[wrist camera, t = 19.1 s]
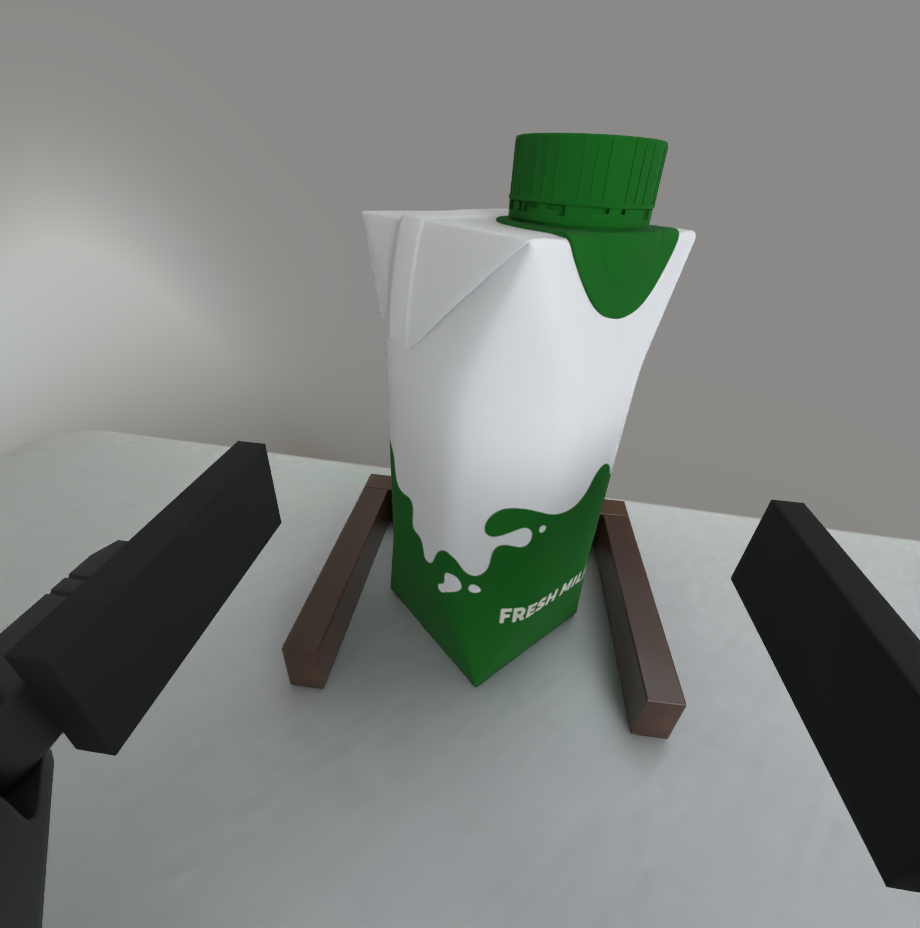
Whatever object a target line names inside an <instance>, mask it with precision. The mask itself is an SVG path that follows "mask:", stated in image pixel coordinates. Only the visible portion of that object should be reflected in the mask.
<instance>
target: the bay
mask: <svg viewBox="0 0 920 928" xmlns="http://www.w3.org/2000/svg"><path fill="white" fill-rule="evenodd" d="M389 521H393V507H392V481H391V476H387V475H378V474H371V475H370V477H369V479H368V481H367V483H366V485H365V488H364V489H363V491H362V493H361V495H360V497H359V499H358V501H357V503H356V505H355V507H354V509H353V511H352V513H351V515H350V517H349V518H348V520H347V522H346V524H345V526H344V528H343V530H342V532H341V534H340V536H339V538H338V540H337V542H336V544H335V546H334V548H333V550H332V552H331V554H330V556H329V557H328V559H327V561H326V563H325V565H324V567H323V569H322V571H321V573H320V575H319V577H318V579H317V581H316V583H315V585H314V587H313V589H312V591H311V593H310V594H309V596H308V598H307V600H306V602H305V604H304V606H303V608H302V610H301V612H300V614H299V616H298V618H297V620H296V622H295V624H294V626H293V628H292V630H291V632H290V633H289V635H288V637H287V639H286V641H285V643H284V645H283V647H282V652H283V656H284V660H285V664H286V668H287V672H288V676H289V680H290V684H293V685H300V686H307V687H313V688H320V689H323V688H324V686H325V683H326V681H327V678H328V676H329V673H330V671H331V668H332V665H333V663H334V660H335V658H336V655H337V653H338V650H339V648H340V645H341V643H342V640H343V637H344V635H345V632H346V630H347V627H348V625H349V622H350V620H351V617H352V614H353V612H354V609H355V607H356V604H357V602H358V599H359V597H360V594H361V591H362V589H363V586H364V584H365V581H366V579H367V576H368V574H369V571H370V568H371V566H372V563H373V561H374V558H375V556H376V553H377V551H378V548H379V545H380V543H381V540H382V538H383V535H384V533H385V530H386V528H387V525H388V523H389ZM592 544H593V545H595V548H596V554H597V559H598V564H599V569H600V574H601V580H602V585H603V590H604V595H605V600H606V606H607V611H608V616H609V621H610V626H611V632H612V637H613V642H614V647H615V652H616V658H617V663H618V668H619V673H620V678H621V684H622V689H623V694H624V699H625V704H626V710H627V715H628V720H629V725H630V731H631V733H632V734H636V735H643V736H650V737H657V738H664V739H668V737H669V735H670V734H671V732H672V730H673V728H674V727H675V725H676V723H677V721H678V720H679V718H680V716H681V714H682V712H683V711H684V709H685V707H686V702H685V699H684V696H683V692H682V689H681V686H680V683H679V679H678V676H677V673H676V670H675V666H674V663H673V660H672V657H671V653H670V650H669V647H668V643H667V640H666V637H665V634H664V630H663V627H662V624H661V621H660V617H659V614H658V611H657V608H656V604H655V601H654V598H653V595H652V591H651V588H650V585H649V582H648V578H647V575H646V572H645V569H644V565H643V562H642V559H641V556H640V552H639V549H638V546H637V543H636V539H635V536H634V533H633V530H632V526H631V523H630V520H629V516H628V513H627V510H626V506H625V503H624V501H615V500H606V499H604V501H603V505H602V509H601V512H600V516H599V520H598V523H597V527H596V531H595V534H594V538H593V542H592Z"/></svg>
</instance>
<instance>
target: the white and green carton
mask: <svg viewBox="0 0 920 928" xmlns="http://www.w3.org/2000/svg"><path fill="white" fill-rule="evenodd" d="M667 149H668V143H667V142H666V141H662V140H658V139H651V138H644V137H633V136H621V135H607V134H586V133H530V134H521V135H518V136H517V137H516V142H515V152H514V162H513V171H512V181H511V191H510V194H509V198H510V203H509V209H467V210H451V211H363V212H362V215H363V220H364V225H365V230H366V236H367V242H368V247H369V253H370V258H371V264H372V269H373V275H374V280H375V285H376V292H377V297H378V303H379V309H380V314H381V320H382V326H383V332H384V338H385V344H386V356H387V378H388V402H389V403H388V405H389V430H390V452H391V453H390V455H391V481H392V507H393V532H394V539H393V556H392V575H391V589H392V590H393V591H394V592H395V593H396V595H397V596H398V597H399V598H400V599H401V601H402V602H403V603H404V604H405V605H406V606H407V608H408V609H409V610H410V611H411V612H412V613H413V615H414V616H415V617H416V618H417V619H418V621H419V622H420V623H421V624H422V625H423V626H424V628H425V629H426V630H427V631H428V632H429V633H430V635H431V636H432V637H433V638H434V639H435V641H436V642H437V643H438V644H439V645H440V646H441V648H442V649H443V650H444V651H445V652H446V653H447V655H448V656H449V657H450V658H451V659H452V661H453V662H454V663H455V664H456V665H457V666H458V668H459V669H460V670H461V671H462V672H463V673H464V675H465V676H466V677H467V678H468V679H469V681H470V682H471V683H472V684H473V685H474V686H475V687H477V686H478V685H479V684H481V683H482V682H483V681H485V680H486V679H487V678H489V677H490V676H491V675H493V674H494V673H495V672H497V671H498V670H499V669H501V668H502V667H503V666H505V665H506V664H507V663H509V662H510V661H511V660H513V659H514V658H515V657H517V656H518V655H519V654H521V653H522V652H523V651H525V650H526V649H527V648H529V647H530V646H531V645H533V644H534V643H535V642H537V641H538V640H539V639H541V638H542V637H543V636H545V635H546V634H547V633H549V632H550V631H551V630H553V629H554V628H555V627H557V626H558V625H559V624H561V623H562V622H563V621H565V620H566V619H567V618H569V617H570V616H571V615H573V614H574V613H576V611H577V606H578V601H579V597H580V592H581V588H582V583H583V579H584V574H585V570H586V565H587V561H588V556H589V553H590V549H591V545H592V542H593V538H594V534H595V531H596V527H597V523H598V520H599V516H600V512H601V509H602V505H603V501H604V498H605V494H606V491H607V487H608V483H609V479H610V476H611V472H612V468H613V465H614V461H615V458H616V454H617V450H618V446H619V443H620V439H621V436H622V432H623V428H624V425H625V421H626V417H627V414H628V410H629V407H630V403H631V399H632V395H633V392H634V388H635V385H636V382H637V378H638V375H639V372H640V369H641V366H642V363H643V361H644V358H645V356H646V353H647V351H648V349H649V346H650V344H651V341H652V339H653V337H654V334H655V332H656V330H657V327H658V325H659V323H660V320H661V318H662V315H663V313H664V311H665V308H666V306H667V304H668V301H669V299H670V297H671V294H672V292H673V290H674V287H675V285H676V283H677V280H678V278H679V276H680V273H681V271H682V268H683V266H684V264H685V261H686V259H687V257H688V254H689V252H690V250H691V247H692V245H693V243H694V240H695V238H696V235H695V231H690V230H685V229H679V228H672V227H665V226H658V225H650V224H649V222H650V218H651V214H652V210H653V208H654V206H655V201H656V196H657V192H658V188H659V183H660V179H661V175H662V171H663V166H664V162H665V158H666V153H667ZM513 199H514V200H513Z"/></svg>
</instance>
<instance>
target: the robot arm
mask: <svg viewBox="0 0 920 928" xmlns="http://www.w3.org/2000/svg"><path fill="white" fill-rule="evenodd" d="M280 524H281V519H280V514H279V509H278V504H277V499H276V494H275V490H274V485H273V480H272V475H271V470H270V465H269V460H268V456H267V451H266V446H265V444H260V443H251V442H242V441H238V442H237V443H235V444H234V445H233V446H232V447H231V448H230V449H229V450H228V451H227V452H226V453H225V454H223V455H222V456H221V457H220V458H219V459H218V460H217V461H216V462H215V463H214V464H212V465H211V466H210V467H209V468H208V469H207V470H206V471H205V472H204V473H203V474H202V475H200V476H199V477H198V478H197V479H196V480H195V481H194V482H193V483H192V484H191V485H189V486H188V487H187V488H186V489H185V490H184V491H183V492H182V493H181V494H180V495H179V496H177V497H176V498H175V499H174V500H173V501H172V502H171V503H170V504H169V505H168V506H166V507H165V508H164V509H163V510H162V511H161V512H160V513H159V514H158V515H157V516H156V517H154V518H153V519H152V520H151V521H150V522H149V523H148V524H147V525H146V526H145V527H143V528H142V529H141V530H140V531H139V532H138V533H137V534H136V535H135V536H134V537H133V538H131V539H130V540H129V541H121V540H118V541H116V542H114V543H112V544H110V545H109V546H107V547H105V548H103V549H101V550H99V551H98V552H96V553H94V554H92V555H91V556H89V557H88V558H87V559H86V560H85V561H84V562H82V563H81V564H80V565H79V566H78V567H77V568H76V569H74V570H73V571H72V572H71V573H70V574H69V577H68V578H64V579H63V580H62V581H61V582H59V583H58V584H57V585H56V586H55V587H54V588H52V589H51V593H50V594H46V595H44V596H43V597H42V598H41V599H40V600H39V601H37V602H36V603H35V604H34V605H33V606H32V607H31V608H29V609H28V610H27V611H26V612H25V613H24V614H22V615H21V616H20V617H19V618H18V619H17V620H16V621H14V622H13V623H12V624H11V625H10V626H9V627H7V628H6V629H5V630H4V631H3V632H2V633H1V634H0V928H42V918H43V904H44V890H45V877H46V863H47V850H48V836H49V822H50V809H51V795H52V782H53V768H54V759H53V755H52V751H51V749H50V747H51V746H52V745H53V743H54V742H55V741H56V740H57V739H58V737H59V736H60V735H61V734H62V733H63V732H64V734H65V735H66V736H67V738H68V739H69V740H70V741H71V743H72V744H73V745H74V747H75V748H76V749H79V750H85V751H91V752H97V753H103V754H109V755H114V756H116V754H117V753H118V752H119V750H120V749H121V747H122V746H123V745H124V743H125V742H126V740H127V739H128V738H129V736H130V735H131V733H132V732H133V731H134V729H135V728H136V726H137V725H138V724H139V722H140V721H141V719H142V718H143V717H144V715H145V714H146V712H147V711H148V709H149V708H150V707H151V705H152V704H153V702H154V701H155V700H156V698H157V697H158V695H159V694H160V693H161V691H162V690H163V688H164V687H165V686H166V684H167V683H168V681H169V680H170V679H171V677H172V676H173V674H174V673H175V672H176V670H177V669H178V667H179V666H180V665H181V663H182V662H183V660H184V659H185V657H186V656H187V655H188V653H189V652H190V650H191V649H192V648H193V646H194V645H195V643H196V642H197V641H198V639H199V638H200V636H201V635H202V634H203V632H204V631H205V629H206V628H207V627H208V625H209V624H210V622H211V621H212V620H213V618H214V617H215V615H216V614H217V613H218V611H219V610H220V608H221V607H222V606H223V604H224V603H225V601H226V600H227V598H228V597H229V596H230V594H231V593H232V591H233V590H234V589H235V587H236V586H237V584H238V583H239V582H240V580H241V579H242V577H243V576H244V575H245V573H246V572H247V570H248V569H249V568H250V566H251V565H252V563H253V562H254V561H255V559H256V558H257V556H258V555H259V554H260V552H261V551H262V549H263V548H264V546H265V545H266V544H267V542H268V541H269V539H270V538H271V537H272V535H273V534H274V532H275V531H276V530H277V528H278V527H279V525H280ZM731 580H732V582H733V584H734V586H735V588H736V590H737V592H738V594H739V596H740V598H741V600H742V602H743V604H744V606H745V608H746V610H747V612H748V614H749V616H750V618H751V619H752V621H753V623H754V625H755V627H756V629H757V631H758V633H759V635H760V637H761V639H762V641H763V643H764V645H765V647H766V649H767V651H768V653H769V655H770V657H771V659H772V661H773V663H774V665H775V667H776V669H777V671H778V673H779V675H780V677H781V679H782V681H783V683H784V685H785V687H786V689H787V691H788V693H789V695H790V697H791V699H792V701H793V703H794V705H795V707H796V709H797V711H798V713H799V714H800V716H801V718H802V720H803V722H804V724H805V726H806V728H807V730H808V732H809V734H810V736H811V738H812V740H813V742H814V744H815V746H816V748H817V750H818V752H819V754H820V756H821V758H822V760H823V762H824V764H825V766H826V768H827V770H828V772H829V774H830V776H831V778H832V780H833V782H834V784H835V786H836V788H837V790H838V792H839V794H840V796H841V798H842V800H843V802H844V804H845V806H846V807H847V809H848V811H849V813H850V815H851V817H852V819H853V821H854V823H855V825H856V827H857V829H858V831H859V833H860V835H861V837H862V839H863V841H864V843H865V845H866V847H867V849H868V851H869V853H870V855H871V857H872V859H873V861H874V863H875V865H876V867H877V869H878V871H879V873H880V875H881V877H882V879H883V881H884V883H885V885H886V887H890V888H896V889H902V890H908V891H914V892H920V640H919V639H918V638H917V636H916V635H915V634H914V633H913V632H912V630H911V629H910V628H909V627H908V626H907V625H906V623H905V622H904V621H903V620H902V619H901V617H900V616H899V615H898V614H897V613H896V612H895V610H894V609H893V608H892V607H891V606H890V604H889V603H888V602H887V601H886V600H885V599H884V597H883V596H882V595H881V594H880V593H879V591H878V590H877V589H876V588H875V587H874V586H873V584H872V583H871V582H870V581H869V580H868V578H867V577H866V576H865V575H864V574H863V573H862V571H861V570H860V569H859V568H858V567H857V565H856V564H855V563H854V562H853V561H852V560H851V558H850V557H849V556H848V555H847V554H846V552H845V551H844V550H843V549H842V548H841V547H840V545H839V544H838V543H837V542H836V541H835V539H834V538H833V537H832V536H831V535H830V534H829V532H828V531H827V530H826V529H825V528H824V526H823V525H822V524H821V523H820V522H819V521H818V519H817V518H816V517H815V516H814V515H813V514H812V512H811V511H810V510H809V509H808V508H807V506H806V505H805V504H804V503H797V502H788V501H778V500H771V502H770V504H769V506H768V508H767V509H766V511H765V513H764V515H763V517H762V519H761V521H760V523H759V525H758V527H757V529H756V531H755V533H754V534H753V536H752V538H751V540H750V542H749V544H748V546H747V548H746V550H745V552H744V554H743V556H742V558H741V560H740V561H739V563H738V565H737V567H736V569H735V571H734V573H733V575H732V577H731Z"/></svg>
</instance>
